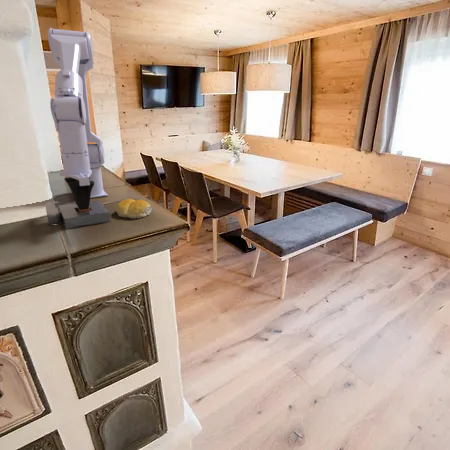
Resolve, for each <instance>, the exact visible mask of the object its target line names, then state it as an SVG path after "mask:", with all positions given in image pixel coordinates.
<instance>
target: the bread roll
mask: <svg viewBox="0 0 450 450" xmlns="http://www.w3.org/2000/svg"><path fill="white" fill-rule="evenodd" d="M115 209H116V213H117V215H118V216H119V217H121V218H124V219H125V218H129V219H134V220H135V219H136V218H137V219H142V217H143V218H145V217H147V215H148V216H149V215H151V213H152V212H153V208H152V205H151V204H150V203H149V202H147V201H146V200H144V199H137V200H135V199H133V198H126V199H124V200H123V199H122V201H119V203H117V205H116V208H115Z"/></svg>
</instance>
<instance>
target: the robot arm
mask: <svg viewBox="0 0 450 450" xmlns="http://www.w3.org/2000/svg"><path fill="white" fill-rule="evenodd" d="M47 38H48V39H47V40H48V45H49V49H50V51H51V54H52V56H53V58H54V62H56V66H58V68H59V67H60V71H58V72H56V74H55V77H54V78H55V79H54V81H55V82H54V97H53V98H50V101H49V103H50V107H49V108H50V112H51V116H52V119H53V122H54V127H55V132H57V133H58V141H59V146H60V152H61V159H62V164H63V165H62V166H63V170H58V175H59V176H61V177H62V176H63V177H64V176H65V178H64V181H65V182H66V184H67V185H68V187H69V188H70V191H71V193H72V197H73V199H74V202H75V204H77V206H78V207H79V209H80V210H84V209H89V205H90V202H91V199H93V198H99V197H108V193H107V192H106V191H105V190H104V184H103V175H102V166H103V165H104V164H105V163H106V162H105V158H106V157H105V151H104V150H105V149H104V144H103V140H102V138H101V137H100V136H98V135H97V134H95V133H94V132H93V131H92V123H91V122H92V121H91V115H90V104H89V96H88V94H89V93H88V88H87V86H88V85H87V76H88V71H90V70H92V69H94V64H95V63H94V49H93V43H92V42H93V40H92V35H91V33H89V31H87V30H86V31H76V30H67V29H59V28H52V27H49V29H48V31H47Z"/></svg>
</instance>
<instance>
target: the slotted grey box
mask: <svg viewBox="0 0 450 450" xmlns="http://www.w3.org/2000/svg"><path fill="white" fill-rule="evenodd" d="M44 207H45V212H46V216H47V223H48V225H49V224H59V225H61V224H63V226H64V228H65V229H66V230H67V229H74V228H78V227H83V226H84V227H85V226H90V225H96V224H102V223H108V222H111V219H110V211H109V210H108V209H107V208H106V207H105V205H104V204H103V203H102V202H101V200H96V201H90V210H89V211H82V212H79V208H78V206H77V204H76V203H72V204H66V205H65V204H64V205H61V204H60V202H59V201H57V200H55V201H53V200H52V201H51V200H50V201H47V202H45V203H44Z"/></svg>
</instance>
